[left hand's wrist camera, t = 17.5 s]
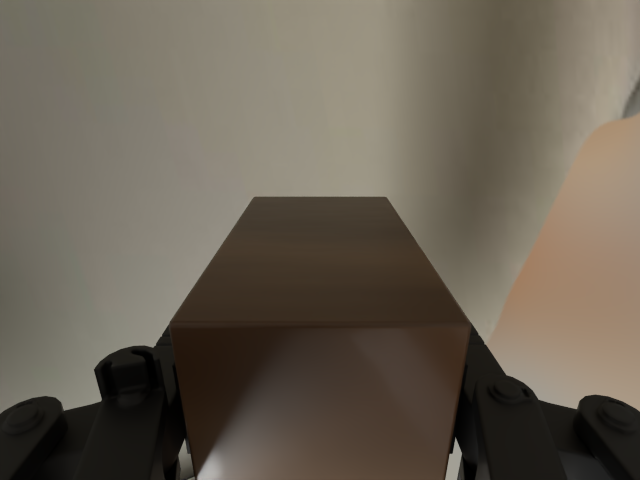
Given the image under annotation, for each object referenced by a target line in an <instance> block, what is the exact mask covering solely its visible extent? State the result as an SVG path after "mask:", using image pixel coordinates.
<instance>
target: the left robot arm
mask: <svg viewBox="0 0 640 480" xmlns="http://www.w3.org/2000/svg"><path fill="white" fill-rule="evenodd" d="M470 323H471V322H470ZM94 372H95V375H96V379H97V383H98V386H99V390H100V394H101V397H102V401H101V402H98V403H95V404H91V405H87V406H83V407H78V408H74V409H70V410H65V411H64V410H63V407H62V404H61V402H60V401H59V400H58V399H56V398H54V397H48V396H43V397H36V398H31V399H28V400H26V401H23V402H20V403H18V404H16V405H14V406H12V407H10V408H8V409H7V410H5V411H3V412H2V413H1V414H0V480H180V462H179V457H178V454H179V452H180V449H181V447H182V444H183V442H184V439H185V441H186V447H187V452H188V454H191V453H190V447H189V441H188V435H187V430H186V424H185V418H184V412H183V406H182V401H181V395H180V389H179V383H178V377H177V371H176V366H175V360H174V354H173V348H172V342H171V336H170V331H169V325H168V327H167V328H166V330H165V331H164V333H163V334H162V337H160V339H159V340H158V342H157V343H156V346H154V348H152V347H148V346H132V347H128V348H124V349H120V350H118V351H116V352H114V353H112V354H109V355H108V356H107V357H105V358H104V359H103V360H101V361H100V362H99V363H98V365H97V366H96V368H95V369H94ZM455 437H456V439H457V442H458V444H459V447H460V449H461V452H462V457H461V462H460V467H459V473H458V478H457V480H640V412H639V411H638V410H637V409H635V408H633V407H632V406H630V405H628V404H626V403H624V402H622V401H619V400H617V399H614V398H611V397H608V396H601V395H590V396H585V397H584V398H583V399H581V400H580V402H579V405H578V408H577V409H573V408H568V407H564V406H560V405H555V404H551V403H547V402H544V401H541V400H538V398H537V397H536V395H535V394H534V392H533V391H532V390H531V389H530V388H529V387H528V386H527V385H525V384H524V383H523V382H521V381H519V380H517V379H515V378H513V377H510V376H507V375H506V374H505V373H504V371H503V370H502V368H501V367H500V365H499V364H498V362H497V361H496V359H495V358H494V356H493V355H492V353H491V352H490V350H489V349H488V347H487V346H486V345H485V344H484V341H483V340H482V338H481V337H480V336H479V335H478V332H477V331H476V329H475V328H474V326H473V325H472V323H471V332H470V338H469V343H468V349H467V355H466V361H465V367H464V373H463V378H462V384H461V390H460V396H459V402H458V407H457V413H456V419H455V425H454V431H453V436H452V442H451V448H450V454H452V453H453V448H454V442H455Z"/></svg>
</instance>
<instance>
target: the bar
mask: <svg viewBox="0 0 640 480" xmlns="http://www.w3.org/2000/svg"><path fill="white" fill-rule="evenodd" d="M169 331H170V336H171V342H172V348H173V354H174V360H175V366H176V371H177V377H178V383H179V389H180V395H181V401H182V406H183V412H184V418H185V424H186V430H187V435H188V441H189V447H190V453H191V459H192V465H193V470H194V476H195V480H445V477H446V471H447V465H448V460H449V454H450V448H451V442H452V436H453V431H454V425H455V419H456V413H457V407H458V402H459V396H460V390H461V384H462V378H463V373H464V367H465V361H466V355H467V349H468V343H469V338H470V332H471V323H470V321H469V319H468V318H467V316H466V315H465V314H464V312H463V311H462V309H461V308H460V306H459V305H458V303H457V302H456V300H455V299H454V297H453V296H452V294H451V293H450V291H449V290H448V288H447V287H446V285H445V284H444V282H443V281H442V279H441V278H440V276H439V275H438V273H437V272H436V270H435V269H434V267H433V266H432V264H431V263H430V261H429V260H428V258H427V257H426V255H425V254H424V252H423V251H422V249H421V248H420V246H419V245H418V243H417V242H416V240H415V239H414V237H413V236H412V234H411V233H410V231H409V230H408V228H407V227H406V225H405V224H404V222H403V221H402V219H401V218H400V216H399V215H398V214H397V212H396V211H395V209H394V208H393V206H392V205H391V203H390V202H389V200H388V199H387V197H254V198H253V199H252V201H251V202H250V204H249V205H248V207H247V208H246V210H245V211H244V213H243V214H242V216H241V217H240V218H239V220H238V221H237V223H236V224H235V226H234V227H233V229H232V230H231V232H230V233H229V235H228V236H227V238H226V239H225V241H224V242H223V244H222V245H221V247H220V248H219V250H218V251H217V253H216V254H215V256H214V257H213V259H212V260H211V262H210V263H209V265H208V266H207V268H206V269H205V271H204V272H203V274H202V275H201V276H200V278H199V279H198V281H197V282H196V284H195V285H194V287H193V288H192V290H191V291H190V293H189V294H188V296H187V297H186V299H185V300H184V302H183V303H182V305H181V306H180V308H179V309H178V311H177V312H176V314H175V315H174V317H173V318H172V320H171V321H170V323H169Z"/></svg>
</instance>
